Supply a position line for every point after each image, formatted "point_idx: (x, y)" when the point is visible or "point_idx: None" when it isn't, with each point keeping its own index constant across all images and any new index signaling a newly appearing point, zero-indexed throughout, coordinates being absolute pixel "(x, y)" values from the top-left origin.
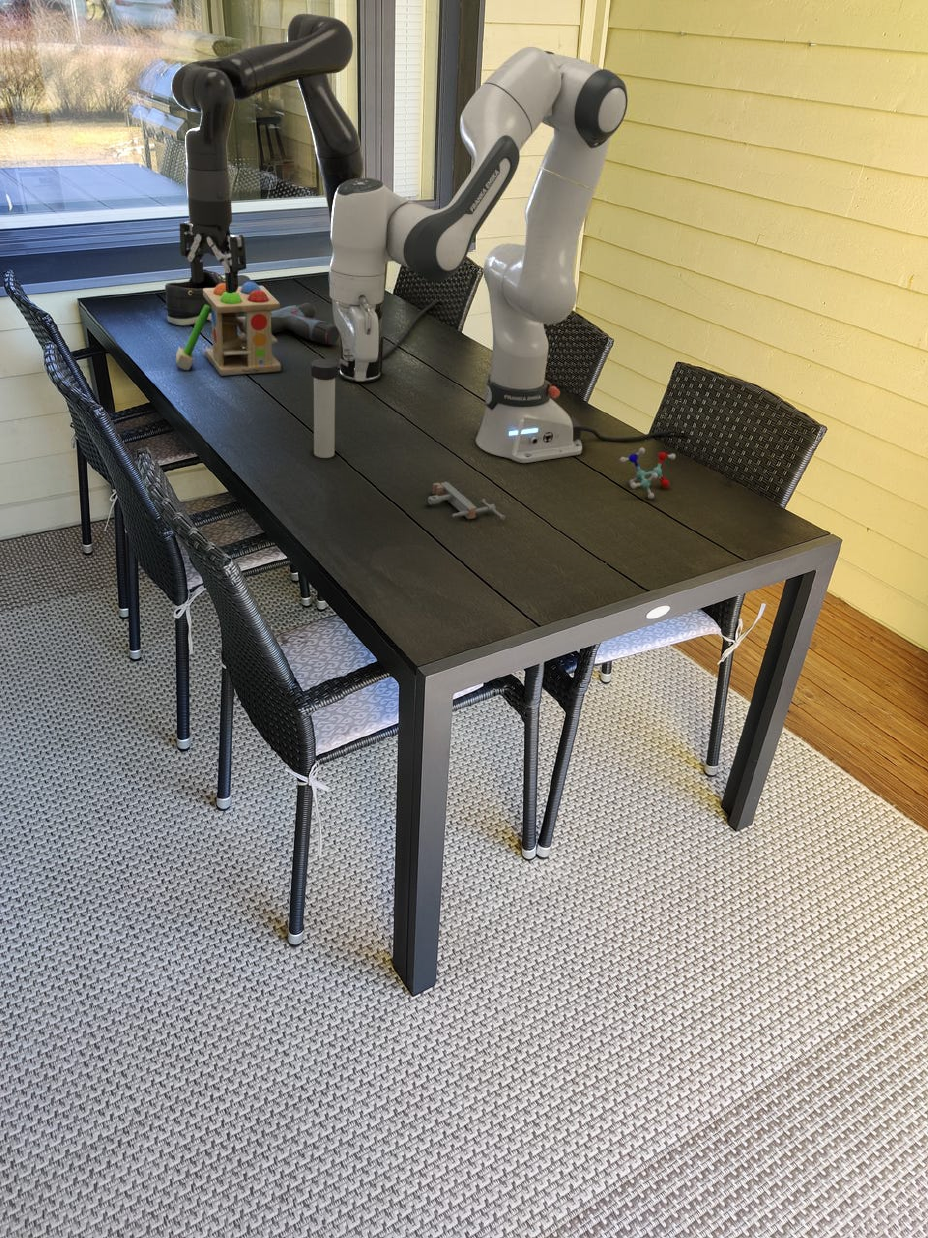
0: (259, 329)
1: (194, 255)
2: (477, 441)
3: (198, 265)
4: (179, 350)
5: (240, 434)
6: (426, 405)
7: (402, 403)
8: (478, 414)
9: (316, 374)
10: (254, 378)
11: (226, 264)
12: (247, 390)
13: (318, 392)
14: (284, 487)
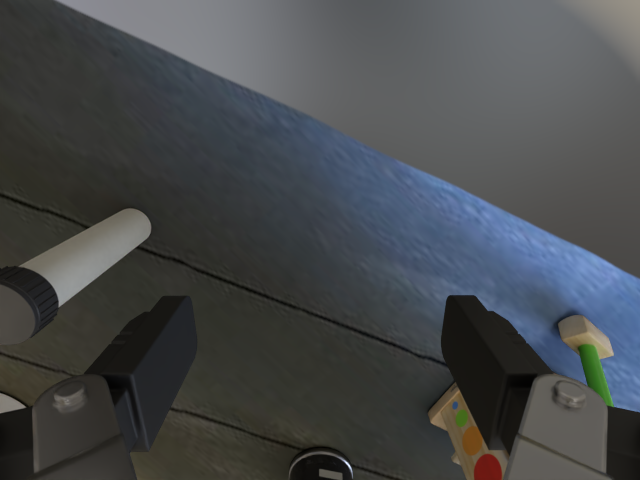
0: (479, 458)
1: (526, 430)
2: (12, 403)
3: (484, 392)
4: (605, 346)
5: (293, 185)
6: (173, 452)
7: (202, 437)
8: None
9: (4, 270)
10: (443, 368)
11: (49, 433)
12: (418, 327)
13: (42, 255)
14: (62, 67)
